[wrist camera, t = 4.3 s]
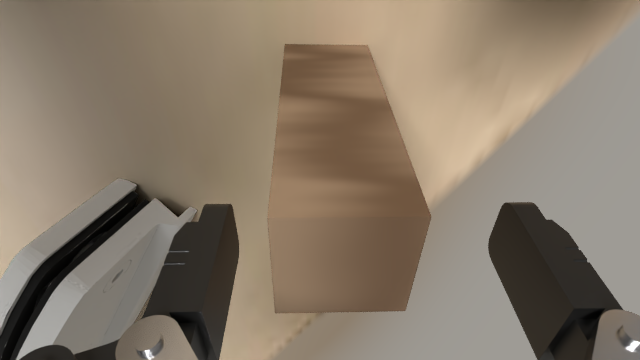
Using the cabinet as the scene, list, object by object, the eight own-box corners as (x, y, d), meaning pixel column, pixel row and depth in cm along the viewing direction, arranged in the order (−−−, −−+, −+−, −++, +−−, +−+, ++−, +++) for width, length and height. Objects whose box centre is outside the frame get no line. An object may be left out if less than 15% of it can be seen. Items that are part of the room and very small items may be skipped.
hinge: (129, 332, 34) (24, 454, 25) (81, 301, 33) (-41, 414, 25) (199, 206, 25) (76, 326, 16) (137, 163, 25) (-21, 263, 16)
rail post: (287, 117, 21) (274, 313, 12) (284, 44, 19) (267, 218, 9) (360, 118, 21) (405, 311, 12) (367, 45, 19) (431, 216, 10)
